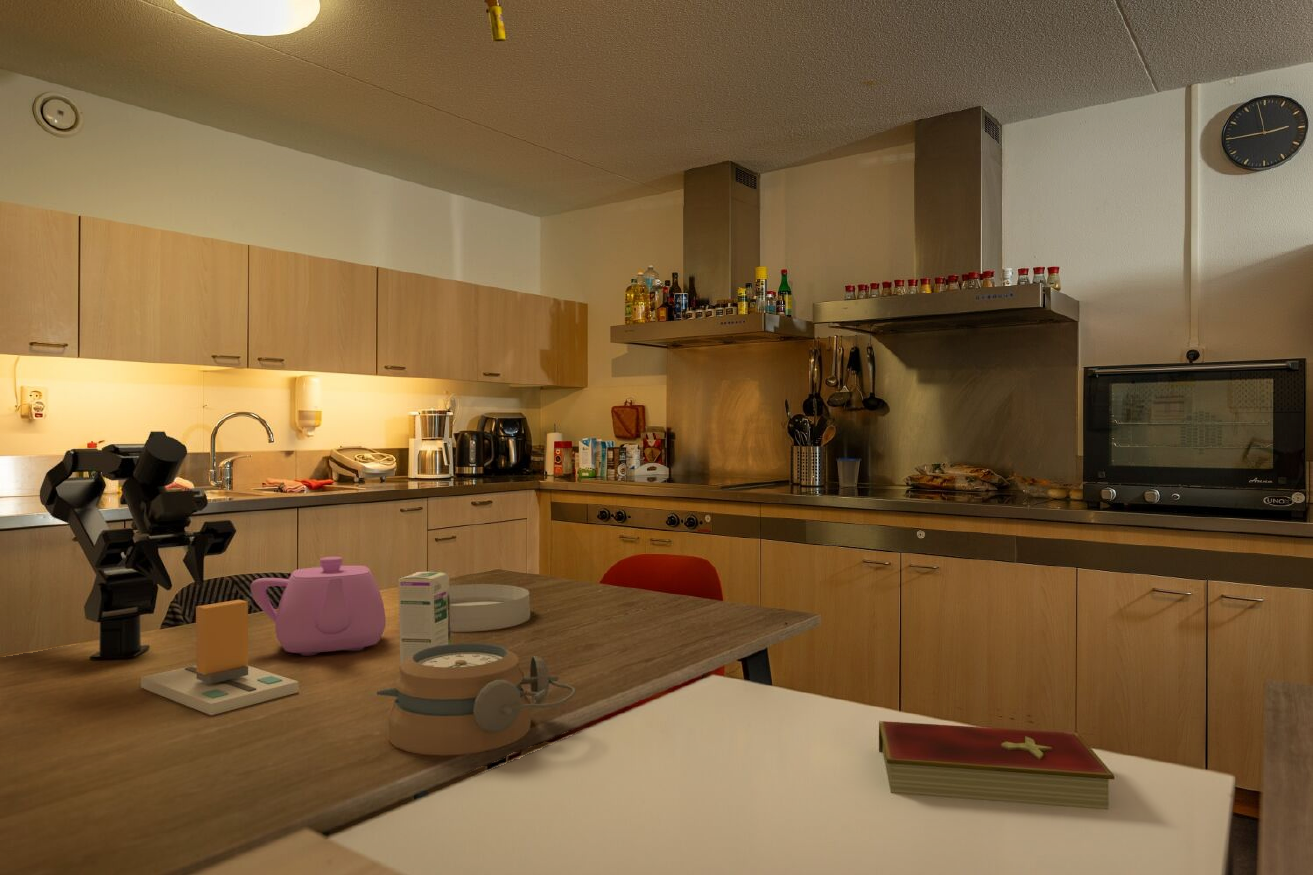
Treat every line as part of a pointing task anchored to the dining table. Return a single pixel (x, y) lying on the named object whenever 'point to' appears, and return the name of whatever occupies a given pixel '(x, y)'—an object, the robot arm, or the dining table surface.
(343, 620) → the teapot
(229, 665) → the fader
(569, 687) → the alarm clock
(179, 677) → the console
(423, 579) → the syrup box
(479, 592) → the dish
